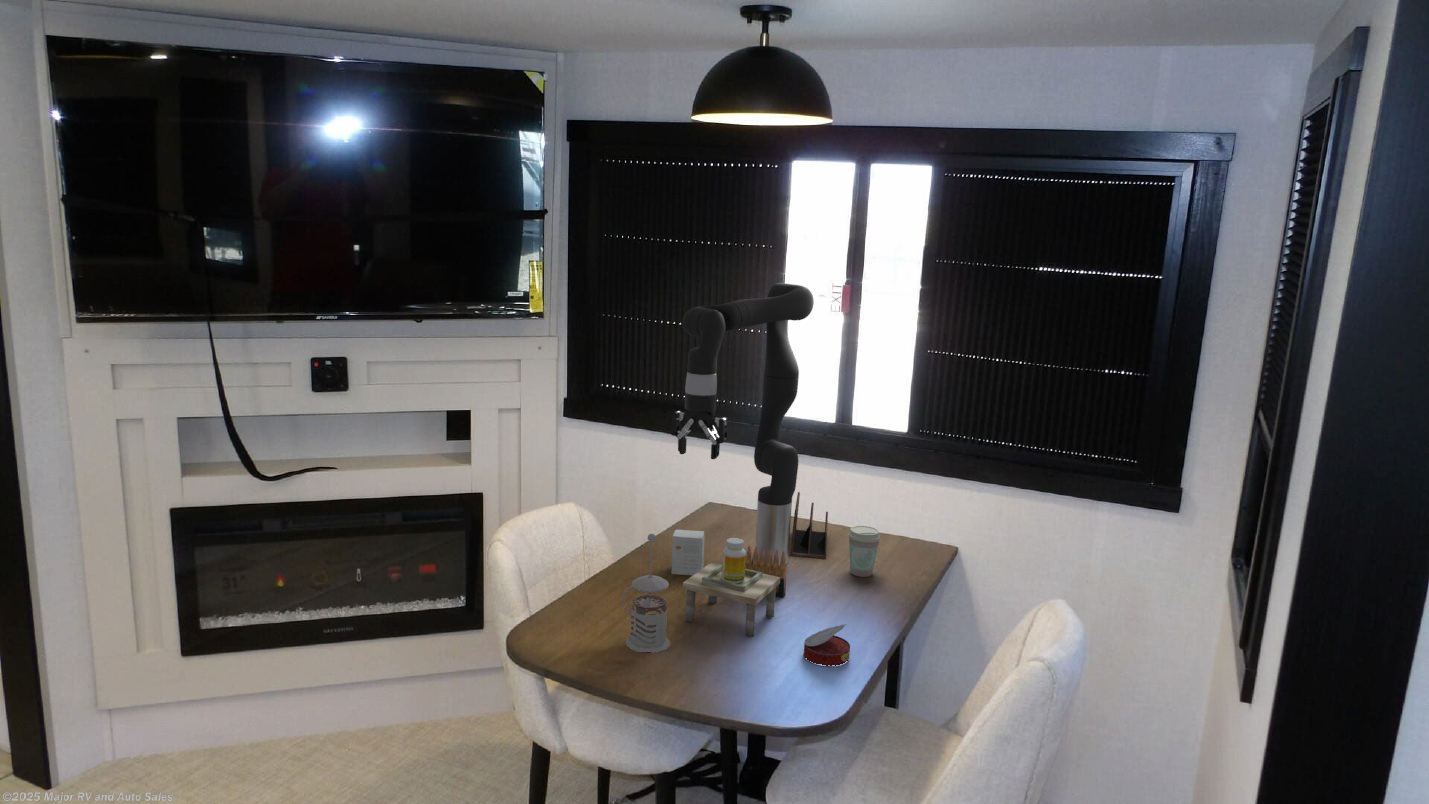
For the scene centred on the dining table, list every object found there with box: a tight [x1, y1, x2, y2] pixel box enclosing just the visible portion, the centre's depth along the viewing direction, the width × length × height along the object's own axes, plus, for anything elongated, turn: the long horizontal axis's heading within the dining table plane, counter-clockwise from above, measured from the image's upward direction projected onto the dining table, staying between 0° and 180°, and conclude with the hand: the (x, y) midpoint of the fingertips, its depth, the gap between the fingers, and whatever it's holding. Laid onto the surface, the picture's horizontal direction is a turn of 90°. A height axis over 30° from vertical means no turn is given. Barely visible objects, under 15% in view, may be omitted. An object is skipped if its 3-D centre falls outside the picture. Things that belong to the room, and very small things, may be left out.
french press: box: [621, 533, 671, 653], centre depth 209 cm, size 10×12×25 cm
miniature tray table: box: [682, 562, 780, 638], centre depth 224 cm, size 15×18×11 cm
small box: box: [671, 529, 705, 576], centre depth 252 cm, size 8×6×10 cm
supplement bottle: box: [721, 537, 747, 584], centre depth 222 cm, size 5×5×10 cm
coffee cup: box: [847, 525, 881, 578], centre depth 257 cm, size 8×8×12 cm
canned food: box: [803, 623, 851, 666], centre depth 207 cm, size 11×10×10 cm
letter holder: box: [790, 491, 829, 559], centre depth 276 cm, size 10×20×14 cm, turn 173°
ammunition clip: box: [745, 545, 787, 599], centre depth 240 cm, size 11×2×12 cm, turn 72°
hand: (698, 456), depth 236 cm, fingers open, 8 cm apart
